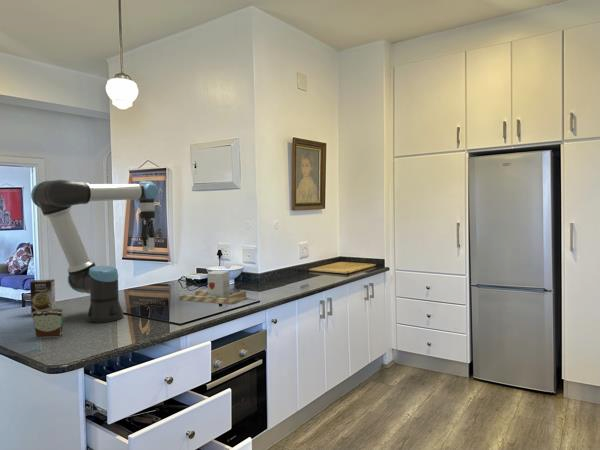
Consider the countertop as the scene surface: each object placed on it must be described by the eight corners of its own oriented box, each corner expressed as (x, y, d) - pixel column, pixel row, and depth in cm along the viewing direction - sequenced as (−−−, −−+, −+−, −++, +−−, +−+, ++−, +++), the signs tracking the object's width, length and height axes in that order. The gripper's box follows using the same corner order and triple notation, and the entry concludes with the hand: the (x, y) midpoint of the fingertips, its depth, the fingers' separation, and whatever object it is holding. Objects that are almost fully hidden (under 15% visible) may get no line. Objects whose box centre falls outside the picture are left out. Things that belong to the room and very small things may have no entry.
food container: (71, 332, 178) (70, 307, 178) (64, 336, 172) (63, 311, 172) (40, 333, 178) (39, 308, 177) (31, 337, 172) (30, 312, 171)
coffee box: (30, 316, 206) (29, 282, 206) (35, 313, 212) (33, 280, 212) (52, 314, 209) (51, 280, 208) (56, 311, 215) (54, 278, 214)
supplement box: (207, 301, 232) (206, 272, 231) (215, 297, 241) (214, 270, 240) (223, 301, 230) (222, 273, 229) (230, 298, 238) (229, 270, 238)
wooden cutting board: (179, 300, 236) (179, 292, 236) (201, 293, 254) (201, 286, 254) (230, 304, 223) (230, 296, 223) (250, 296, 241) (249, 289, 241)
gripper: (149, 211, 221) (150, 253, 222) (159, 210, 246) (160, 248, 247) (133, 211, 220) (135, 253, 221) (145, 210, 245) (147, 248, 246)
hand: (148, 251), depth 234 cm, fingers open, 13 cm apart
